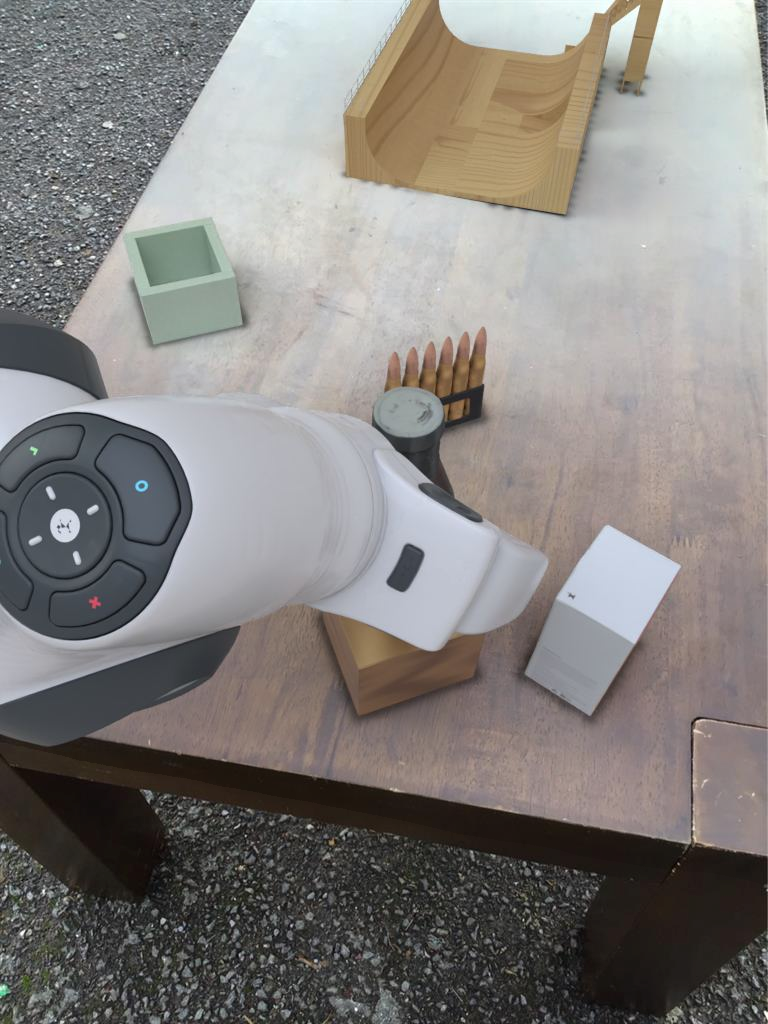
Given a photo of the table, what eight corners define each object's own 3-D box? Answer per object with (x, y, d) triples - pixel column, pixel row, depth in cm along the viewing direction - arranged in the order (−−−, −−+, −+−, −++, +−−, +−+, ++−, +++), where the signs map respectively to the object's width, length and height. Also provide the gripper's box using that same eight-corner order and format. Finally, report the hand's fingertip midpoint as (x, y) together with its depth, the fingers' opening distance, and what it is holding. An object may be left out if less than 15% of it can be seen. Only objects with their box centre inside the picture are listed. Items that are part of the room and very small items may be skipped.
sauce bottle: (459, 612, 60) (496, 433, 44) (385, 650, 58) (396, 478, 42) (412, 547, 63) (431, 358, 47) (341, 581, 61) (335, 396, 45)
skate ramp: (419, 49, 131) (423, -67, 118) (642, 78, 126) (672, -40, 113) (346, 185, 109) (341, 60, 96) (613, 229, 103) (647, 102, 90)
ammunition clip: (472, 407, 85) (487, 317, 75) (480, 419, 84) (497, 330, 74) (378, 437, 82) (381, 348, 72) (385, 450, 81) (389, 362, 71)
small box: (590, 719, 65) (635, 646, 55) (521, 675, 67) (552, 597, 57) (634, 645, 69) (684, 564, 59) (567, 606, 71) (604, 521, 61)
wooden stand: (358, 718, 65) (358, 667, 57) (323, 623, 70) (319, 564, 62) (473, 678, 67) (488, 625, 59) (431, 589, 72) (440, 529, 64)
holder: (154, 347, 88) (140, 296, 83) (136, 285, 94) (121, 233, 89) (243, 327, 91) (235, 276, 85) (219, 268, 97) (211, 216, 91)
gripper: (133, 461, 43) (269, 462, 56) (462, 674, 36) (531, 620, 49) (177, 350, 41) (307, 378, 54) (529, 552, 35) (582, 529, 48)
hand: (416, 494), depth 51 cm, fingers open, 8 cm apart
